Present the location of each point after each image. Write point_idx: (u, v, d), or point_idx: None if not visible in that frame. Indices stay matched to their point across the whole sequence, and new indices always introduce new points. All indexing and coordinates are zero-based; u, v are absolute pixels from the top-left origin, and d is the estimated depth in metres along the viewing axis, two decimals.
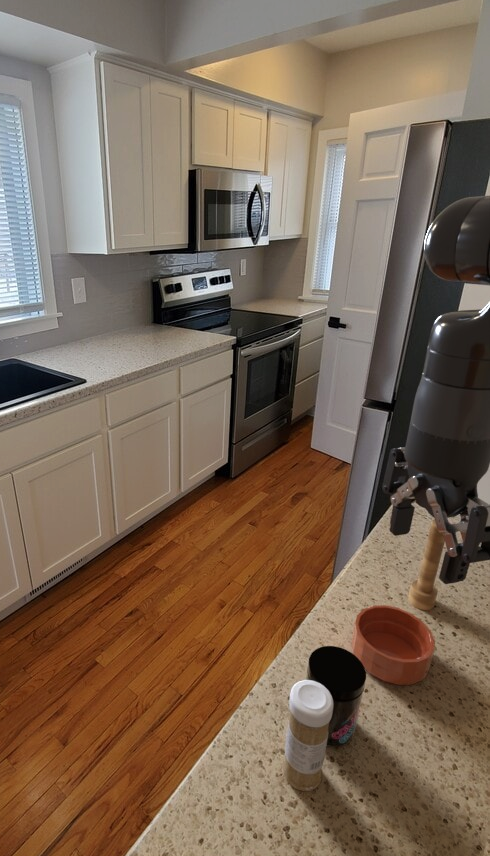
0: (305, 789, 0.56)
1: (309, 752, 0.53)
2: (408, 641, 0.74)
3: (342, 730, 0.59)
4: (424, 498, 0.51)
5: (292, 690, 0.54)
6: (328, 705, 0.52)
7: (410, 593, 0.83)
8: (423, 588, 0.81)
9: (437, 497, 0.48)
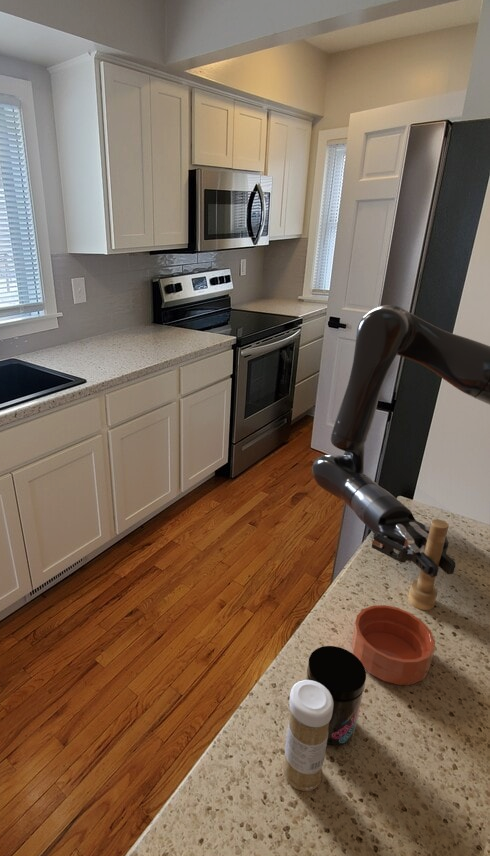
0: (305, 789, 0.56)
1: (309, 752, 0.53)
2: (408, 641, 0.74)
3: (342, 730, 0.59)
4: None
5: (292, 690, 0.54)
6: (328, 705, 0.52)
7: (410, 593, 0.83)
8: (423, 588, 0.81)
9: None
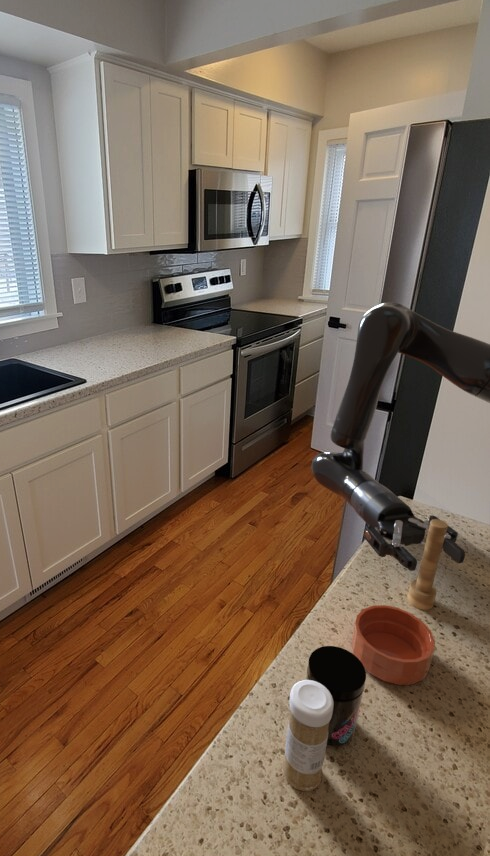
0: (305, 789, 0.56)
1: (309, 752, 0.53)
2: (408, 641, 0.74)
3: (342, 730, 0.59)
4: None
5: (292, 690, 0.54)
6: (328, 705, 0.52)
7: (409, 593, 0.83)
8: (422, 588, 0.81)
9: None
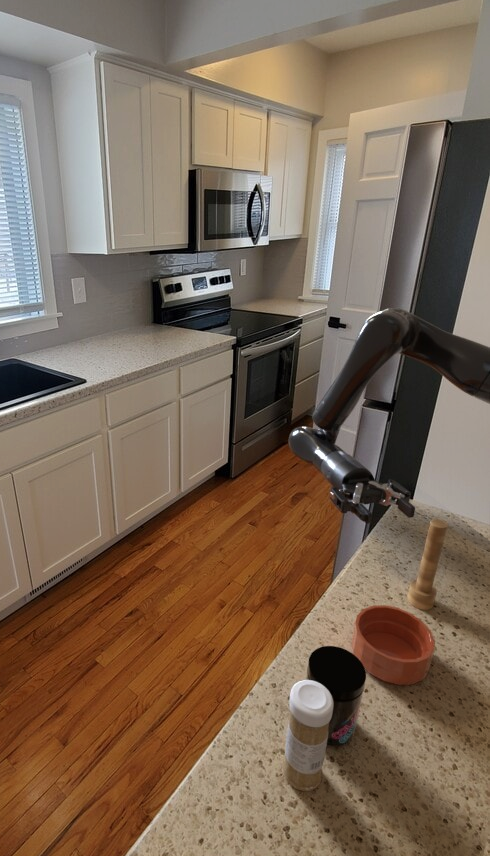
0: (305, 789, 0.56)
1: (309, 752, 0.53)
2: (408, 641, 0.74)
3: (342, 730, 0.59)
4: None
5: (292, 690, 0.54)
6: (328, 705, 0.52)
7: (409, 593, 0.83)
8: (422, 588, 0.81)
9: None
